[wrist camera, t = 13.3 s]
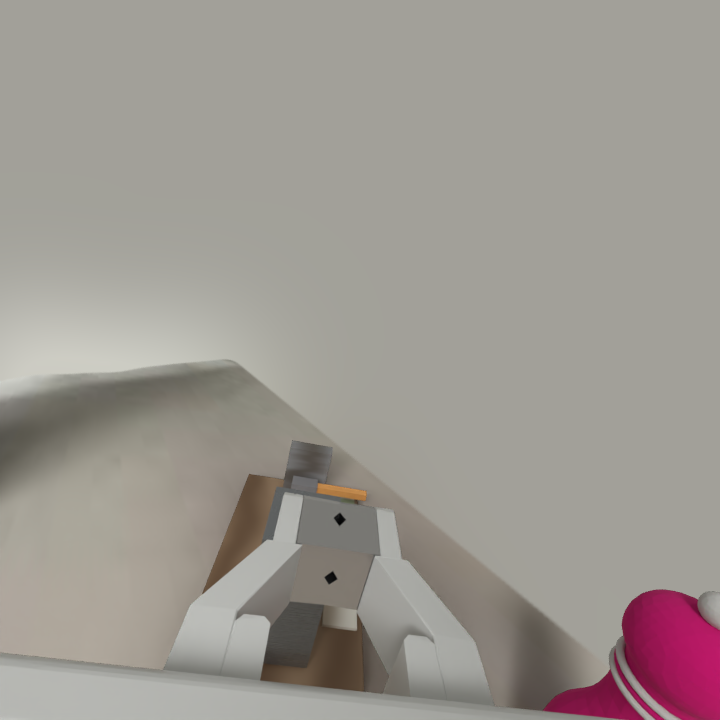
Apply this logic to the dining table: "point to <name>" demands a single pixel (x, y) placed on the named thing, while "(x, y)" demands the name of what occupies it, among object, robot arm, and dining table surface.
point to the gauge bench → (337, 625)
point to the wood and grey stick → (326, 488)
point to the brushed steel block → (292, 607)
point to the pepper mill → (658, 663)
